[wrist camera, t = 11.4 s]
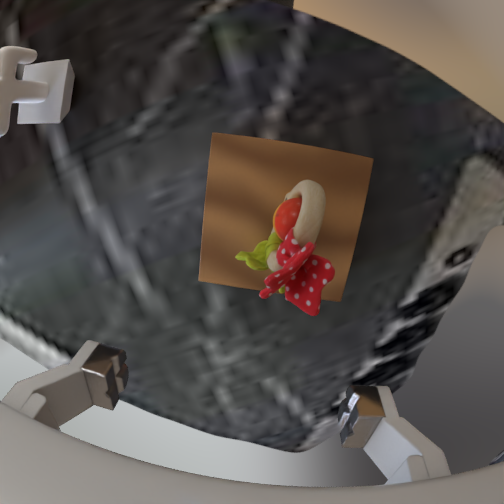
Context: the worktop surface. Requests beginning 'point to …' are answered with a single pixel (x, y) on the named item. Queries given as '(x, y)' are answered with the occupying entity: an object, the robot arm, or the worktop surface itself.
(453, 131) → the worktop surface
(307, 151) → the wooden block
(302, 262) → the bird rattle
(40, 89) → the figurine
